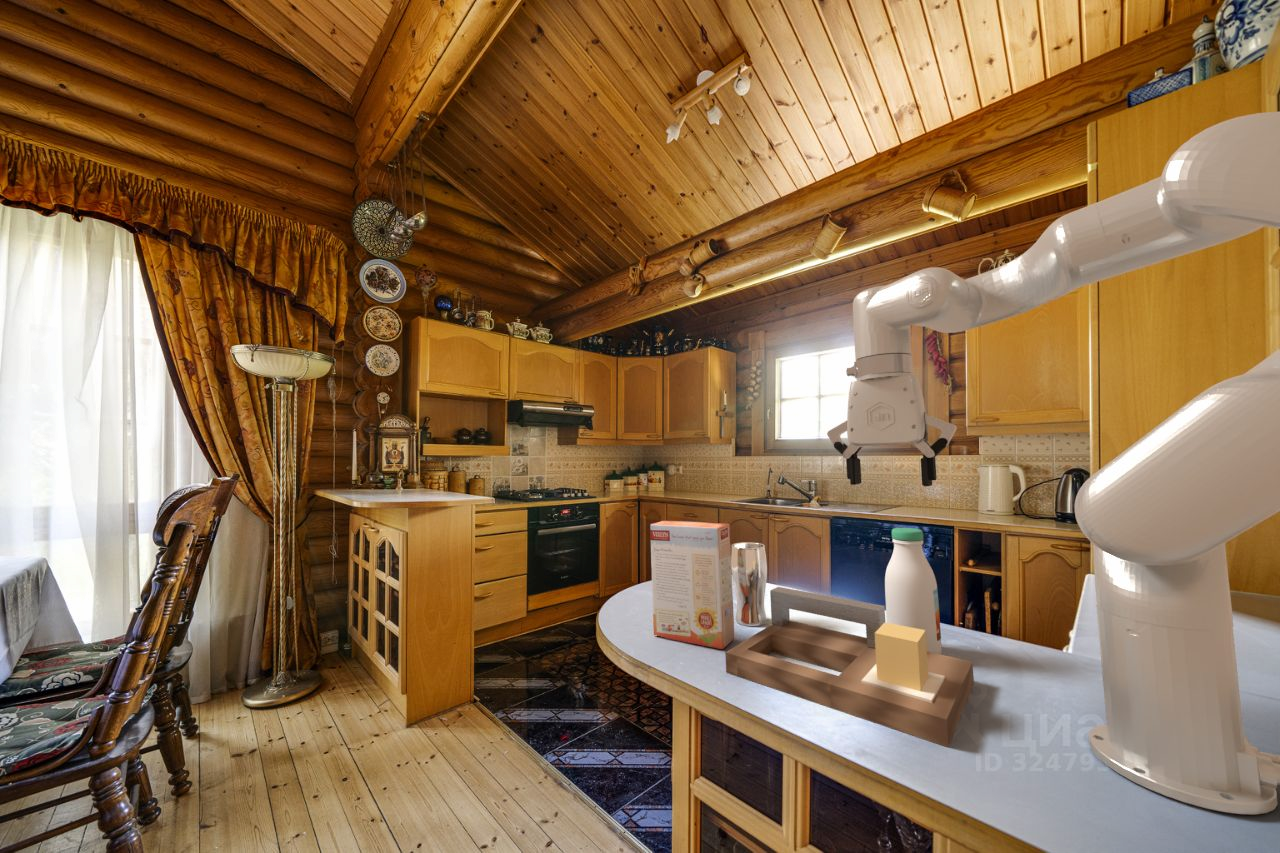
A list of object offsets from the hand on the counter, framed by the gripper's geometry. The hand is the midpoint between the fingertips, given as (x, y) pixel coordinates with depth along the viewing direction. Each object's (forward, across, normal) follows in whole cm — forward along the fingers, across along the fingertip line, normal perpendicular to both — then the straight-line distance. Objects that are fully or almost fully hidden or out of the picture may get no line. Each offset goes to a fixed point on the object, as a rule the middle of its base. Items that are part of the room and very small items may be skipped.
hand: (890, 484), depth 70 cm
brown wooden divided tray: (+28, -7, -4) cm, 29 cm away
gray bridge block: (+25, -12, +3) cm, 28 cm away
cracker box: (+29, -33, -5) cm, 44 cm away
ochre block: (+25, +2, -7) cm, 26 cm away
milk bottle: (+28, -1, +12) cm, 31 cm away
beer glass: (+29, -29, +9) cm, 42 cm away
